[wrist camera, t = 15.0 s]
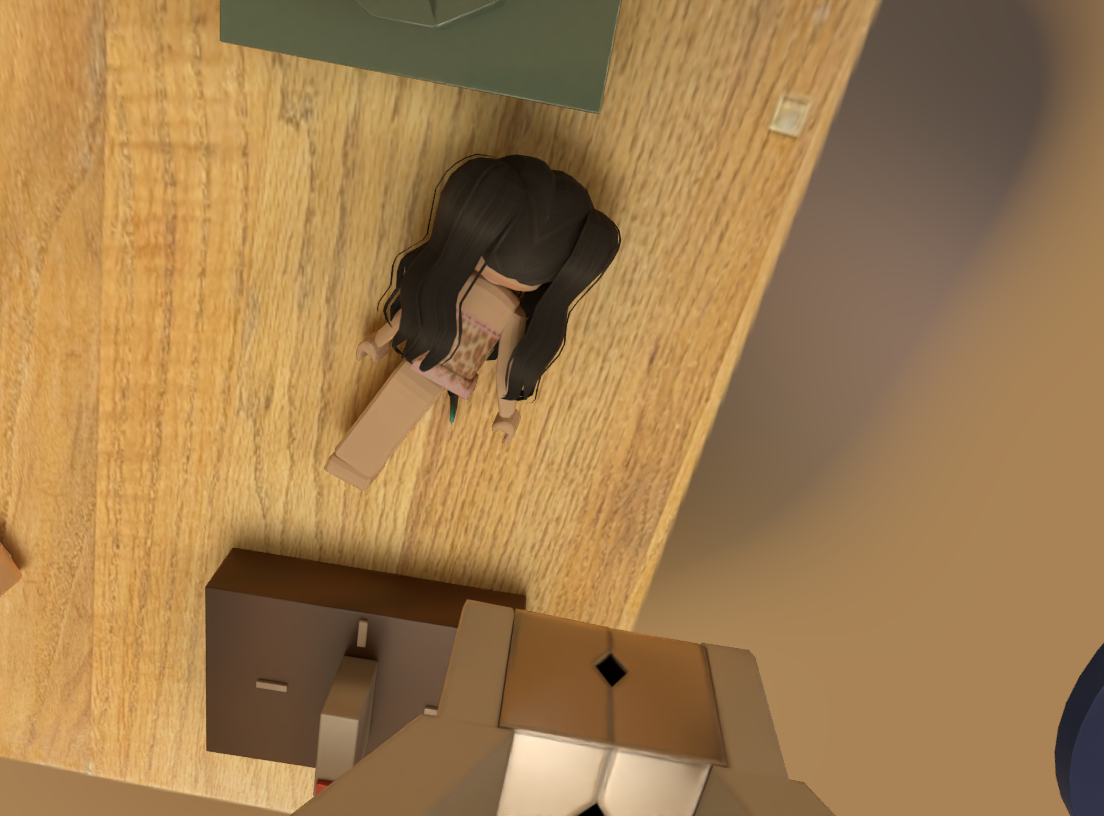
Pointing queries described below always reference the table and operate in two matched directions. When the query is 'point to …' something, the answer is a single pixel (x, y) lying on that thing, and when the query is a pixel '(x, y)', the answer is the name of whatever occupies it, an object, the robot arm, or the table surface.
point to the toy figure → (480, 300)
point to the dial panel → (321, 649)
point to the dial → (345, 720)
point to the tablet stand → (7, 571)
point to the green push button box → (446, 41)
